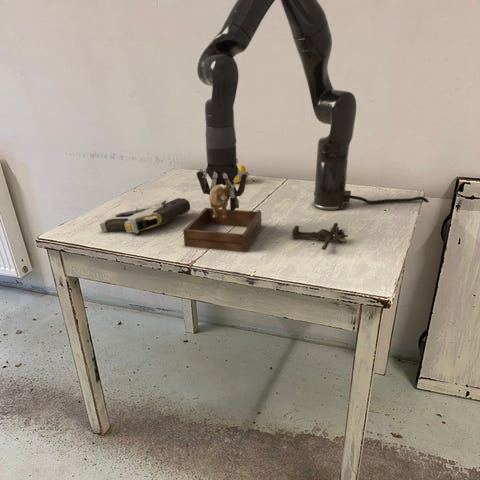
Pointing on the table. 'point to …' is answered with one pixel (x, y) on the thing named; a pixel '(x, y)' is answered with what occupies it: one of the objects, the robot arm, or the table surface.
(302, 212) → the table surface
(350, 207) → the table surface
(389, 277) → the table surface
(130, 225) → the toy blaster
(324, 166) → the robot arm
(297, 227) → the brown humanoid figurine
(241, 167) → the duckling
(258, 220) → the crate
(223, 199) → the lion figurine
